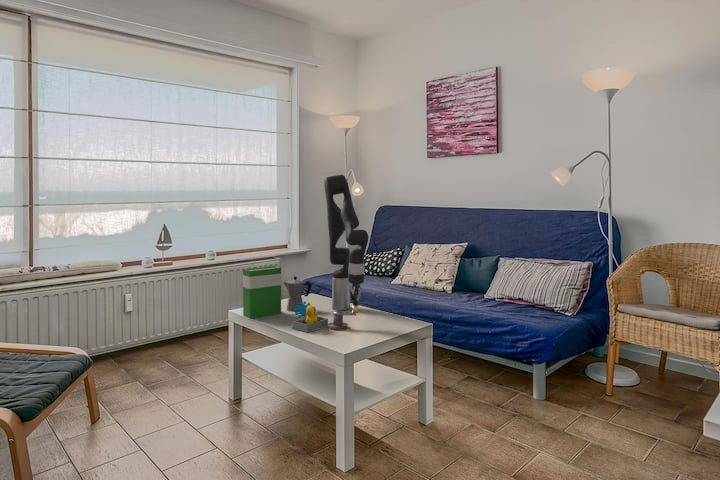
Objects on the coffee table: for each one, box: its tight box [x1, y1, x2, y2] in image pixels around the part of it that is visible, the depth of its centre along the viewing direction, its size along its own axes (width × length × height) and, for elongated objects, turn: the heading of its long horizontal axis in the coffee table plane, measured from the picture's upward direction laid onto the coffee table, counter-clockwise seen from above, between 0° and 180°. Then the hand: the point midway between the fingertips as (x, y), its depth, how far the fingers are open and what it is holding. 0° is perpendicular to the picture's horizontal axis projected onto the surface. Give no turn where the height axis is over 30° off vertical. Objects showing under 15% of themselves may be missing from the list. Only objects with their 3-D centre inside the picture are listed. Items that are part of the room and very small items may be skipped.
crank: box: [332, 304, 359, 316], centre depth 224 cm, size 12×4×4 cm, turn 87°
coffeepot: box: [282, 276, 313, 313], centre depth 257 cm, size 15×9×18 cm, turn 87°
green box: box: [242, 265, 282, 320], centre depth 245 cm, size 18×7×24 cm, turn 130°
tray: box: [292, 315, 329, 333], centre depth 224 cm, size 14×9×4 cm, turn 142°
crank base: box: [327, 315, 349, 331], centre depth 224 cm, size 9×9×6 cm
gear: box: [294, 301, 311, 319], centre depth 243 cm, size 11×6×10 cm
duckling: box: [305, 304, 318, 324], centre depth 223 cm, size 11×5×10 cm, turn 172°
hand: (355, 308), depth 227 cm, fingers closed
